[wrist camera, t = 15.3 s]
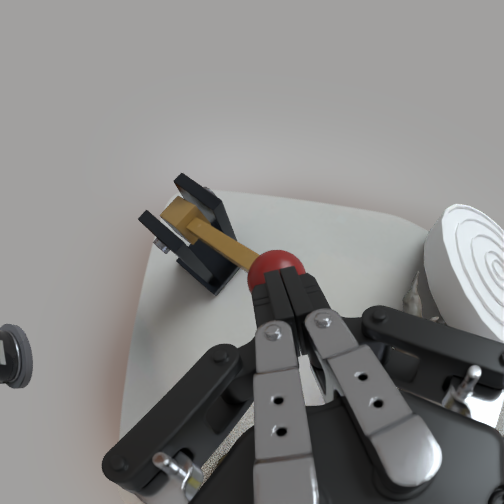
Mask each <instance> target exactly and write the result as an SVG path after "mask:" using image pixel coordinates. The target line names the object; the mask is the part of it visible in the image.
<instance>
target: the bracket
mask: <svg viewBox="0 0 504 504" xmlns="http://www.w3.org/2000/svg"><path fill="white" fill-rule="evenodd" d="M174 183H175V185H176V186H177V188H178V190H179V191H180V193H181V195H182V196H183V198H184V199H185V200H187V201H189V202H191V203H192V204H194V205H196V206H197V208H198V209H199V210H200V211H201V212H202V214H203V215H204V216H205V217H206V218H207V220H208V221H209V222H210V223H211V226H212V227H214V228H216V229H217V230H219V231H220V232H222V233H224V234H225V235H227V236H229V237H230V238H232V239H234V240H235V241H237V239H236V237H235V234H234V231H233V229H232V226H231V224H230V221H229V218H228V216H227V213H226V210H225V208H224V205H223V203H222V200H220V199H219V198H217V197H216V195H215V194H214V193H213V192H212V191H211V190H210V189H209V188H207V187H202V186H200V185H199V184H198V183H196V182H195V181H193V180H192V179H190V178H189V177H188V176H186V175H185V174H183V173H181V174H180V175H179V176H178V177H177V178H176V179H175V180H174ZM138 220H139V221H140V222H141V223H142V224H143V225H144V226H145V227H146V228H148V229H149V230H150V231H151V232H152V233H153V234H154V235H155V236H156V237H157V238H156V240H155V241H154V242H153V243H154V244H155V245H156V246H157V247H158V248H160V249H161V250H162V251H163V252H164V253H165V254H167V253H168V252H169V251H170V250H171V251H172V252H173V253H174V254H175V255H176V256H178V257H179V258H178V259H177V260H176V261H177V262H178V263H179V264H180V265H181V266H182V267H183V268H184V269H185V270H187V271H188V272H189V273H190V274H191V275H192V276H193V277H194V278H196V279H197V280H198V281H199V282H200V283H201V284H202V285H204V286H205V287H206V288H207V289H208V290H209V291H210V292H212V293H213V294H214V295H215V296H217V295H218V293H219V292H220V291H221V290H222V289H223V288H224V286H225V285H226V284H227V283H228V282H229V281H230V279H231V278H232V277H233V276H234V275H235V273H236V272H237V271H238V270H239V269H240V267H238V266H237V265H235V264H234V263H232V262H231V261H229V260H228V259H227V258H225V257H224V256H222V255H221V254H219V253H218V252H217V251H215V250H214V249H212V248H211V247H209V246H208V245H207V244H205V243H204V242H202V241H201V240H199V239H198V240H197V241H196V242H195V243H194V244H193V245H192V244H190V245H189V247H188V246H187V245H186V244H185V243H184V242H183V241H182V240H181V239H180V238H178V237H177V236H176V235H175V234H174V233H173V232H172V231H170V230H169V229H168V228H167V227H166V226H165V225H163V224H162V223H161V222H160V221H159V220H158V219H157V218H156V217H154V216H153V215H152V214H151V213H150V212H149V211H147V210H146V211H145V212H144V213H143V214H142V215H141V216H140V217H139V218H138Z"/></svg>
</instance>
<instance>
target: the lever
mask: <svg viewBox="0 0 504 504" xmlns="http://www.w3.org/2000/svg"><path fill="white" fill-rule="evenodd" d="M160 217H161V218H162V219H163V220H164V221H165V222H166V223H167V224H168V225H169V226H170V227H171V228H172V229H173V230H174V231H175V232H176V233H177V234H179V235H180V236H181V237H183V238H184V239H185V240H187V241H188V242H189V243H191V244H192V245H193V244H194V243H195V242H196V241H197V240H198V239H199V240H201V241H202V242H204V243H205V244H207V245H208V246H209V247H211V248H212V249H214V250H215V251H217V252H218V253H219V254H221V255H222V256H224V257H225V258H227V259H228V260H229V261H231V262H232V263H234V264H235V265H237V266H238V267H240V268H241V269H242V270H244V271H245V272H247V273H248V279H247V282H248V287H249V290H250V293H251V292H252V290H253V288H254V286H255V285H259V284H264V283H265V278H264V274H263V273H265V272H269V271H273V270H277V269H278V270H279V269H281V268H286V267H290V266H295V268H296V270H297V273H298V275H301V274H305V273H306V272H305V269H304V266H303V265H302V263H301V262H300V260H299V259H298V258H297V257H296V256H294V255H293V254H291V253H289V252H286V251H283V250H271V251H268V252H265V253H263V254H261V255H259V254H257V253H255V252H254V251H252V250H250V249H249V248H247V247H245V246H244V245H242V244H240V243H239V242H237V241H235V240H234V239H232V238H230V237H229V236H227V235H225V234H224V233H222V232H220V231H219V230H217V229H216V228H214V227H212V226H211V223H210V222H209V221H208V220H207V218H206V217H205V216H204V215H203V214H202V212H201V211H200V210H199V209H198V208H197V206H196V205H194V204H192V203H191V202H189V201H187V200H185V199H183V198H181V197H180V196H177V197H176V198H175V199H174V200H173V202H172V203H171V204H170V205H169V206H168V207H167V208H166V209H165V210H164V211H163V212H162V213H161V215H160ZM279 273H280V272H279Z"/></svg>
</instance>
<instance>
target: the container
mask: <svg viewBox="0 0 504 504" xmlns="http://www.w3.org/2000/svg"><path fill="white" fill-rule="evenodd" d="M424 267H425V272H426V276H427V280H428V285H429V289H430V292H431V294H432V296H433V298H434V301H435V303H436V305H437V308H438V310H439V313H440V315H441V316H442V318H443V319H444V321H445V323H446V324H447V326H449V327H453V328H456V329H459V330H462V331H465V332H469V333H472V334H475V335H478V336H482V337H485V338H488V339H491V340H495V341H498V342H501V343H504V231H503V230H502V229H501V227H500V226H499V225H498V224H497V223H496V222H495V221H493V220H492V219H491V218H489V217H488V216H487V215H485V214H484V213H483V212H481V211H479V210H477V209H475V208H473V207H470V206H468V205H461V204H454V205H452V206H451V207H449V208H447V209H446V210H445V211H444V212H443V214H442V215H441V217H440V218H439V219H438V221H437V222H436V223H435V224H434V226H433V227H432V228H431V230H430V232H429V234H428V236H427V238H426V240H425V242H424Z"/></svg>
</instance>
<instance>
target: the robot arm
mask: <svg viewBox="0 0 504 504" xmlns="http://www.w3.org/2000/svg"><path fill="white" fill-rule="evenodd" d="M279 272H280V273H279ZM263 274H264V278H265V283H264V284H259V285H255V286H254V288H253V290H252V292H251V294H252V300H253V306H254V313H255V319H256V325H257V331H256V333H255V337H254V338H253V339H252V340H251V341H250V342H249V343H247V344H245V345H243V346H241V347H239V348H236V347H235V346H233V345H231V344H219V345H216V346H214V347H212V348H210V349H209V350H208V351H207V352H206V353H205V354H204V355H203V356H202V357H201V358H200V359H199V360H198V361H197V363H196V364H195V365H194V366H193V367H192V368H191V369H190V370H189V371H188V372H187V373H186V374H185V375H184V376H183V377H182V378H181V379H180V380H179V381H178V382H177V384H176V385H175V386H174V387H173V388H172V389H171V390H170V391H169V392H168V393H167V394H166V395H165V396H164V397H163V398H162V399H161V400H160V401H159V402H158V403H157V404H156V405H155V406H154V407H153V408H152V409H151V410H150V411H149V412H148V413H147V414H146V415H145V416H144V417H143V418H142V419H141V420H140V421H139V422H138V423H137V424H136V425H135V426H134V427H133V428H132V429H131V430H130V431H129V432H128V433H127V434H126V435H125V436H124V437H123V438H122V439H121V440H120V441H119V442H118V443H117V444H116V445H115V446H114V447H113V448H111V449H110V450H109V452H107V453H106V455H105V456H104V458H103V461H102V471H103V473H104V475H105V476H106V477H107V478H108V479H109V480H111V481H112V482H114V483H116V484H118V485H119V486H121V487H122V488H123V489H125V490H127V491H129V492H131V493H133V494H135V495H136V496H137V497H138V498H139V499H140V500H141V501H142V502H144V503H145V504H504V440H503V438H502V436H501V434H500V433H499V432H498V431H497V430H496V429H495V427H496V424H497V420H498V417H499V414H500V410H501V406H502V402H503V399H504V343H501V342H498V341H495V340H491V339H488V338H485V337H482V336H478V335H475V334H472V333H469V332H465V331H462V330H459V329H456V328H453V327H449V326H446V325H443V324H440V323H437V322H434V321H430V320H427V319H424V318H421V317H418V316H415V315H411V314H408V313H405V312H402V311H399V310H396V309H393V308H390V307H386V306H381V305H378V306H372V307H370V308H368V309H366V310H365V311H364V312H363V314H362V317H358V318H345V317H341V316H340V315H339V314H338V313H337V312H336V311H334V310H332V309H331V308H330V306H329V304H328V302H327V300H326V298H325V296H324V294H323V292H322V291H321V289H320V287H319V285H318V283H317V281H316V279H315V277H313V276H311V275H310V274H308V273H305V274H301V275H298V273H297V270H296V268H295V266H290V267H286V268H281V269H279V270H278V269H277V270H273V271H269V272H265V273H263ZM392 347H394V348H397V349H400V350H402V351H405V352H408V353H410V354H413V355H415V356H417V357H418V358H416V357H413V356H410V355H408V354H405V353H402V352H399V351H397V350H394V349H392ZM299 348H300V350H299ZM300 351H301V354H302V356H303V355H307V354H308V357H309V360H310V368H311V371H312V373H313V375H314V378H315V380H316V382H317V385H318V387H319V389H320V391H321V394H322V396H323V398H324V401H325V404H324V405H320V406H305V403H304V397H303V391H302V385H301V379H300V374H299V362H298V357H299V356H300ZM21 370H22V355H21V349H20V346H19V343H18V340H17V338H16V337H15V335H14V334H13V333H12V332H10V331H7V330H0V384H9V382H14V381H16V380H17V379H18V378H19V376H20V374H21ZM396 386H397V387H399V388H402V389H404V390H407V391H409V392H412V393H414V394H417V395H419V396H422V397H424V398H427V399H429V400H432V401H435V402H437V403H440V404H442V406H440V405H437V404H435V403H432V402H430V401H428V400H425V399H423V398H421V397H418V396H416V395H414V394H411V393H409V392H407V391H403V390H400V389H397V387H396ZM253 401H254V426H252V427H251V428H249V429H248V430H247V431H246V432H244V433H243V434H242V435H241V436H240V437H239V438H238V440H237V441H236V442H235V444H234V445H233V446H232V448H231V449H230V451H229V452H228V453H227V455H226V456H225V457H224V459H223V460H222V461H221V463H220V464H219V465H218V467H217V468H216V469H215V470H214V472H213V473H212V474H211V476H210V477H209V478H208V479H207V481H206V482H205V483H204V484H203V486H202V487H201V488H200V486H201V485H202V483H203V479H204V475H203V471H202V469H201V467H202V466H203V464H204V463H205V462H206V461H207V460H208V459H209V457H210V456H211V455H212V454H213V453H214V451H215V450H216V449H217V448H218V447H219V445H220V444H221V443H222V442H223V440H224V439H225V438H226V437H227V435H228V434H229V433H230V432H231V430H232V429H233V428H234V427H235V425H236V424H237V423H238V421H239V420H240V419H241V418H242V416H243V415H244V414H245V412H246V411H247V410H248V408H249V407H250V406H251V404H252V403H253ZM199 488H200V489H199ZM198 490H199V491H198Z"/></svg>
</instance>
